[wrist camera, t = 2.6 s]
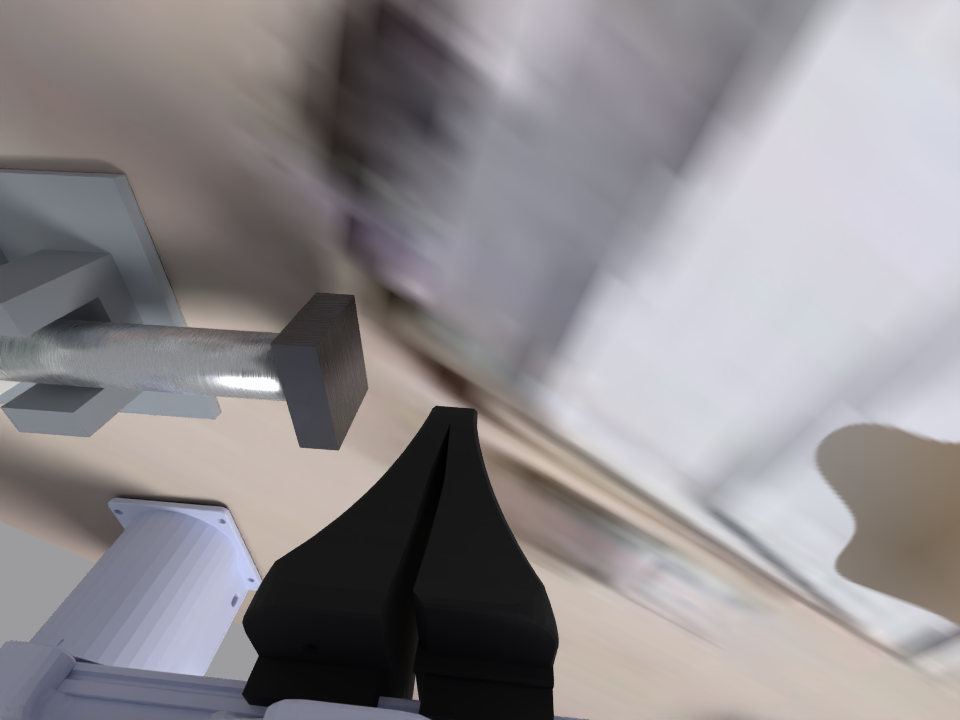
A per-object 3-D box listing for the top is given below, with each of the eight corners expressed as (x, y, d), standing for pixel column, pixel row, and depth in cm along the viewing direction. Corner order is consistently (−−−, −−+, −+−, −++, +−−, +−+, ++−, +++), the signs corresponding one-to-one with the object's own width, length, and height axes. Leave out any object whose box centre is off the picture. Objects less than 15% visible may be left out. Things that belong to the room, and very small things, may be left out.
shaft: (368, 388, 20) (338, 450, 16) (41, 365, 20) (-46, 420, 17) (354, 294, 17) (315, 347, 14) (-19, 273, 18) (-136, 317, 15)
